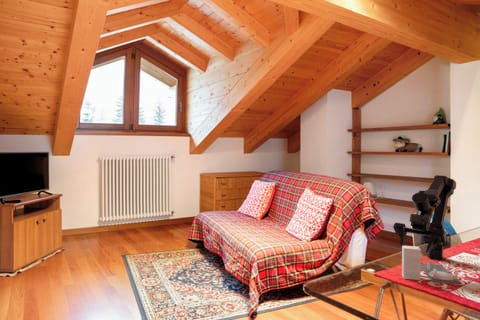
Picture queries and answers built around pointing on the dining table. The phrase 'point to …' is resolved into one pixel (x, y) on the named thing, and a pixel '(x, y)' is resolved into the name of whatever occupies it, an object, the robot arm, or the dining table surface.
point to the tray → (440, 273)
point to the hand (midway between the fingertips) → (413, 249)
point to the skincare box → (411, 262)
